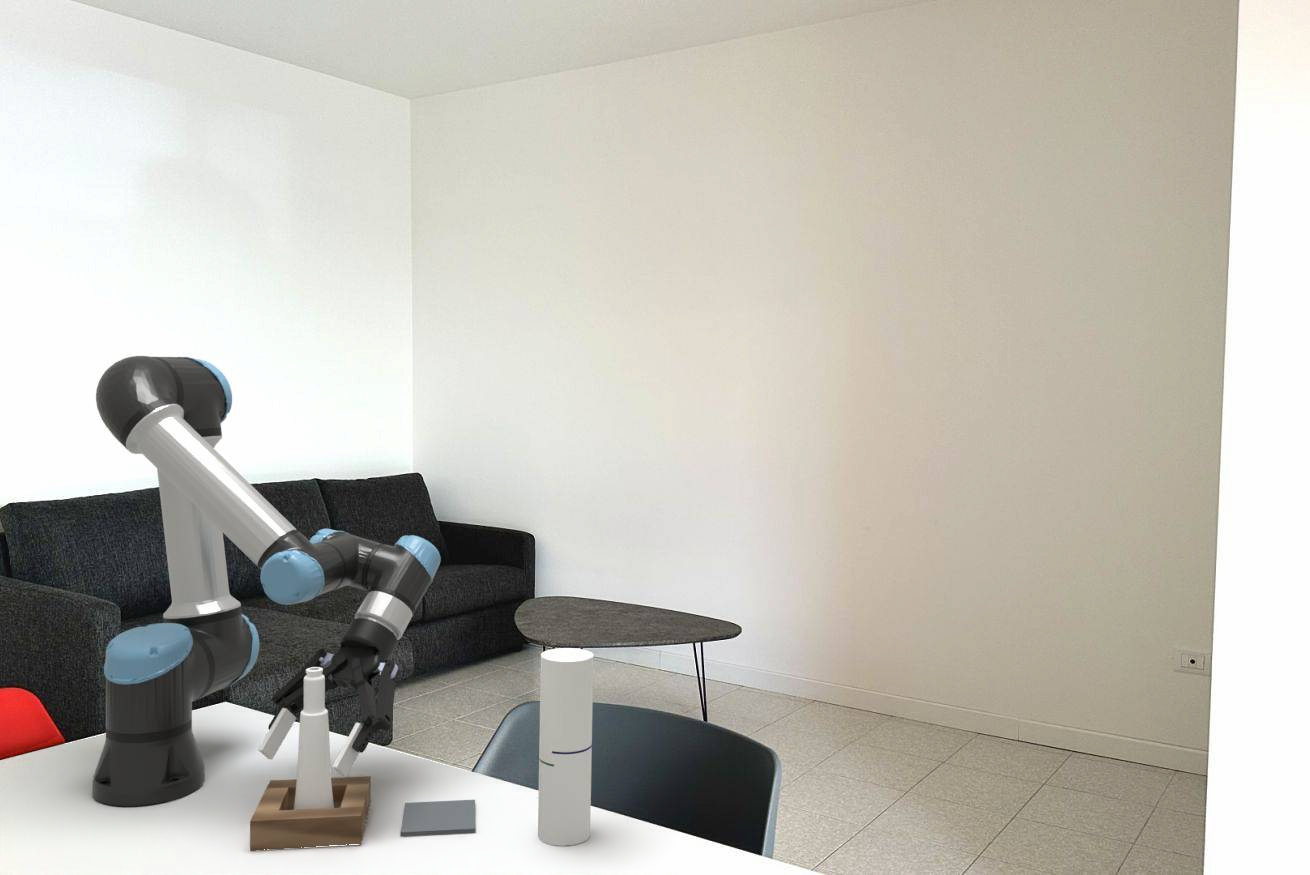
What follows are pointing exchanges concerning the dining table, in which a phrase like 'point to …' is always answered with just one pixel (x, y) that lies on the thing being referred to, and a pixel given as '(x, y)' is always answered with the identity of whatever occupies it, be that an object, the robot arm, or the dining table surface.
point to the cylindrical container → (565, 746)
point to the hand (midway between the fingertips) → (301, 763)
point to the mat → (438, 818)
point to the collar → (310, 816)
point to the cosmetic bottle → (314, 747)
